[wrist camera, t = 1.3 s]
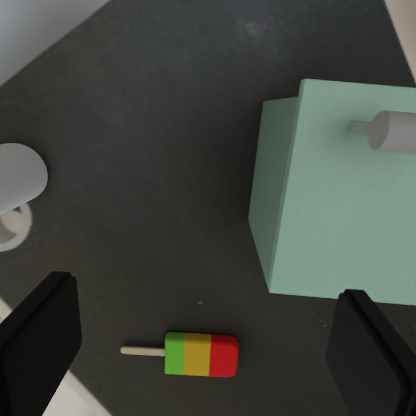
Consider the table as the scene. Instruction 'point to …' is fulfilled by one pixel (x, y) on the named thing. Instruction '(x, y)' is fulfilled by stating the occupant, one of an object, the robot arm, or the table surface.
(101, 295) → the table surface
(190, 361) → the popsicle
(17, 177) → the beverage can
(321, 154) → the lid
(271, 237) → the pale green hollow box
